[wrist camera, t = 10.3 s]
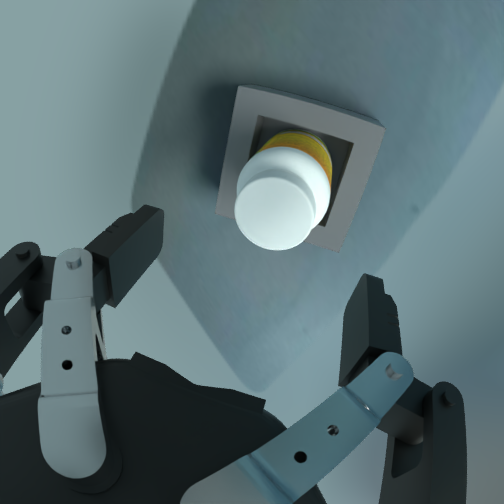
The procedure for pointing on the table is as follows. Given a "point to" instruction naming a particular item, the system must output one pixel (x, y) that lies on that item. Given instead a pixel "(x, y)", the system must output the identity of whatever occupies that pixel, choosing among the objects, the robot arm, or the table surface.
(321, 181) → the supplement bottle
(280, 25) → the table surface
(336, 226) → the socket mount
